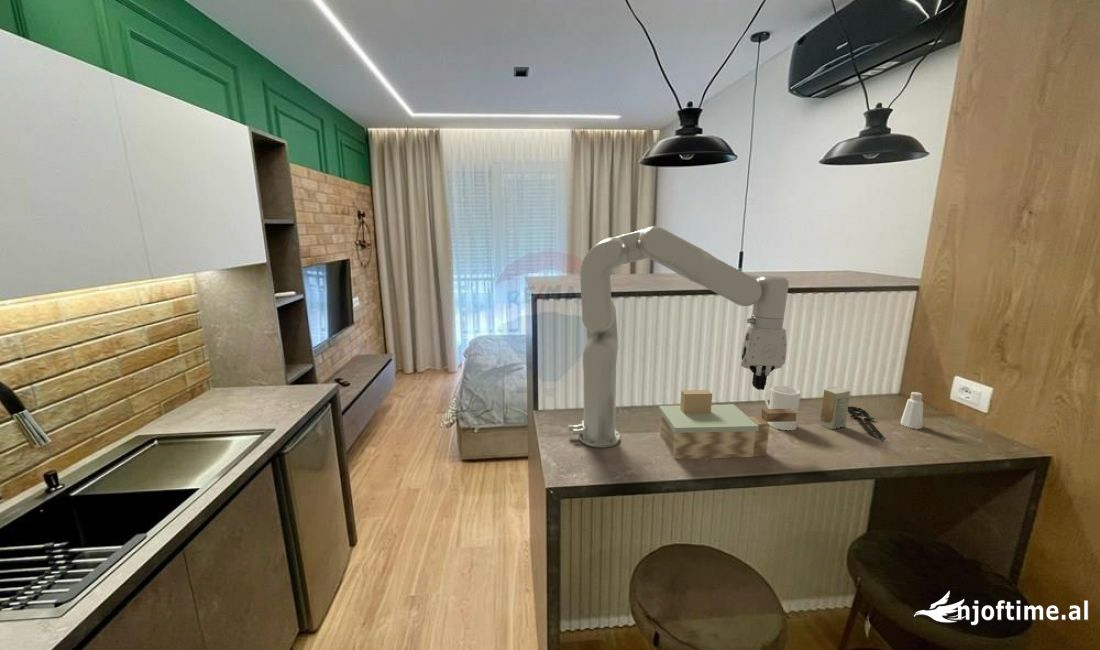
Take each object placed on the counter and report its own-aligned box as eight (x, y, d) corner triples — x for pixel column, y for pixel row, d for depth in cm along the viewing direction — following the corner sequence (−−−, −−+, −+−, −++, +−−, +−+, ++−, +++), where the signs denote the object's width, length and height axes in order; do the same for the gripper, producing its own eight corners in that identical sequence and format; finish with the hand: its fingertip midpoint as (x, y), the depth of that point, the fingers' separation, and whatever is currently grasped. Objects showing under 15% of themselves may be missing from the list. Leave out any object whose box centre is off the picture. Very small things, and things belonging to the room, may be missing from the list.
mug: (754, 416, 142) (757, 383, 139) (776, 414, 143) (780, 381, 141) (779, 432, 130) (783, 395, 128) (803, 429, 132) (807, 393, 129)
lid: (674, 432, 113) (675, 406, 112) (658, 410, 128) (660, 387, 126) (758, 431, 114) (760, 405, 112) (733, 408, 128) (735, 385, 127)
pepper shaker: (897, 424, 134) (903, 392, 132) (902, 420, 138) (908, 388, 135) (919, 430, 130) (925, 397, 128) (924, 426, 133) (930, 393, 131)
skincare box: (833, 421, 137) (838, 386, 135) (846, 427, 133) (851, 390, 131) (818, 424, 135) (823, 388, 133) (831, 430, 131) (836, 393, 129)
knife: (887, 443, 123) (887, 439, 123) (860, 439, 126) (861, 435, 126) (866, 411, 146) (867, 407, 145) (844, 408, 148) (845, 404, 148)
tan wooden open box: (674, 458, 115) (676, 426, 113) (659, 435, 129) (661, 406, 127) (767, 456, 116) (770, 424, 114) (742, 433, 130) (745, 404, 128)
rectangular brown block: (767, 421, 115) (767, 413, 115) (761, 417, 118) (762, 409, 118) (795, 421, 116) (796, 412, 115) (789, 416, 118) (790, 408, 118)
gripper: (746, 325, 107) (738, 392, 111) (803, 326, 108) (793, 393, 112) (732, 319, 114) (725, 383, 118) (786, 320, 115) (777, 383, 119)
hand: (758, 387), depth 115 cm, fingers closed
